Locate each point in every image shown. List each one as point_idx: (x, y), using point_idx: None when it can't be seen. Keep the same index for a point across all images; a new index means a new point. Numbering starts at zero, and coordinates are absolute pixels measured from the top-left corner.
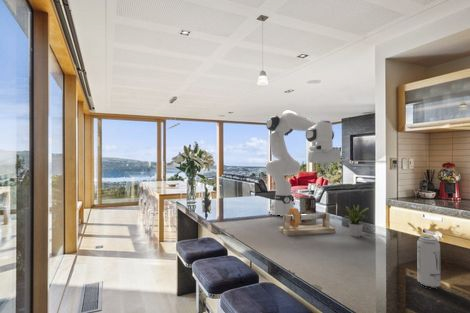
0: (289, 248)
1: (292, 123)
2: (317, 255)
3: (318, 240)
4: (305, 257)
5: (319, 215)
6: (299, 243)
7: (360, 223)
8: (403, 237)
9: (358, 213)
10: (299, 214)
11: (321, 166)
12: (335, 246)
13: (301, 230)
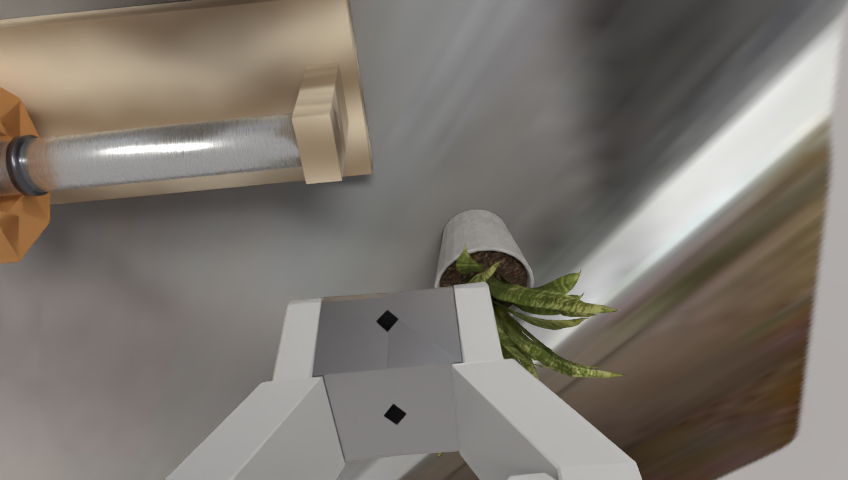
0: (3, 386)
1: None
2: (128, 455)
3: (187, 300)
4: (73, 466)
5: (238, 172)
6: (62, 332)
7: (528, 276)
8: (717, 303)
9: (554, 293)
10: (8, 261)
11: (239, 420)
12: (248, 383)
13: (84, 189)
